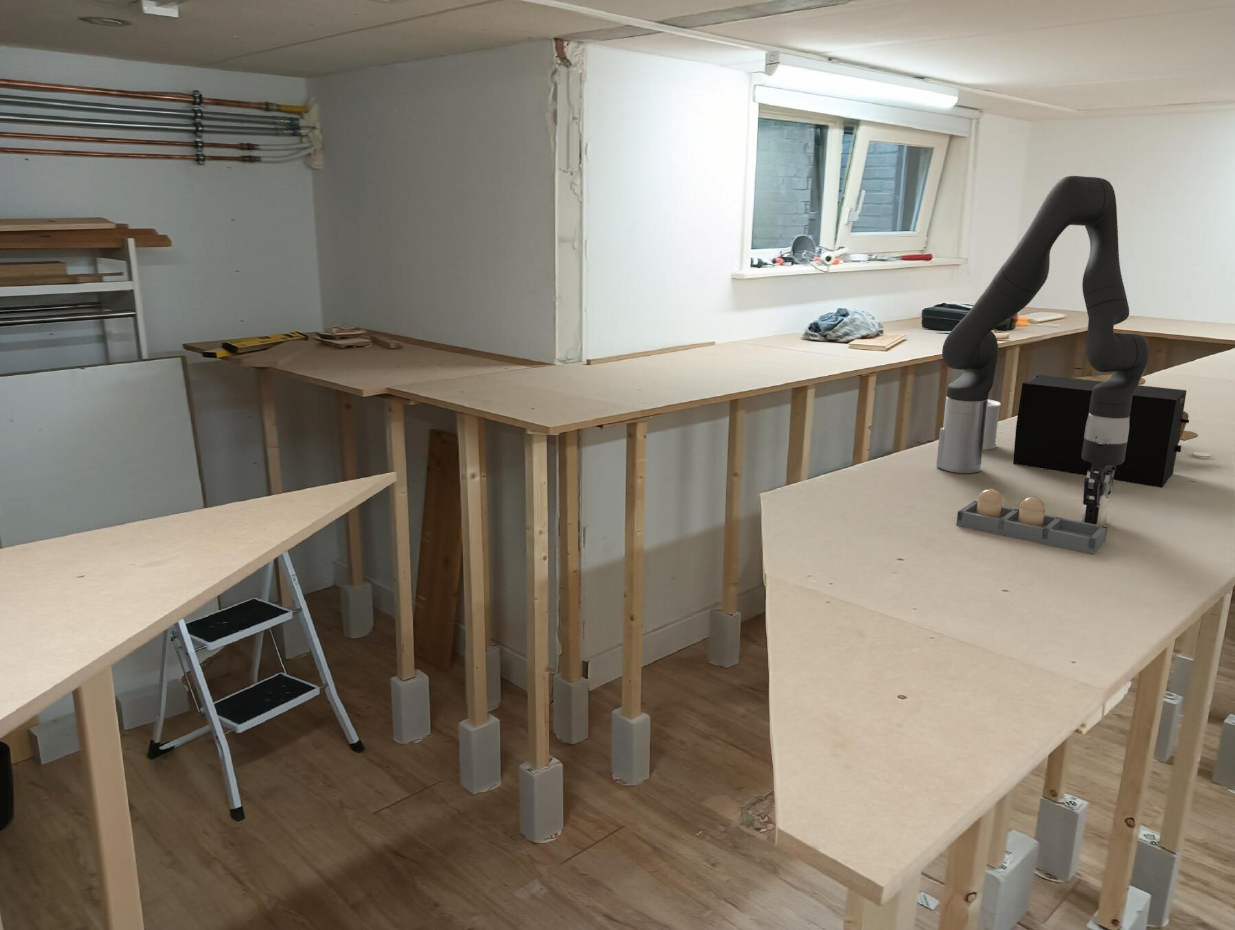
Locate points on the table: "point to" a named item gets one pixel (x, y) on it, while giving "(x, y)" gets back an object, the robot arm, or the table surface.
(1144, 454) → the uninterruptible power supply
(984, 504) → the brown egg back
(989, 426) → the white tall cylinder
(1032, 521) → the brown egg middle
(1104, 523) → the cream egg
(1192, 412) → the table surface
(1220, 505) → the table surface
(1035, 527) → the egg tray
